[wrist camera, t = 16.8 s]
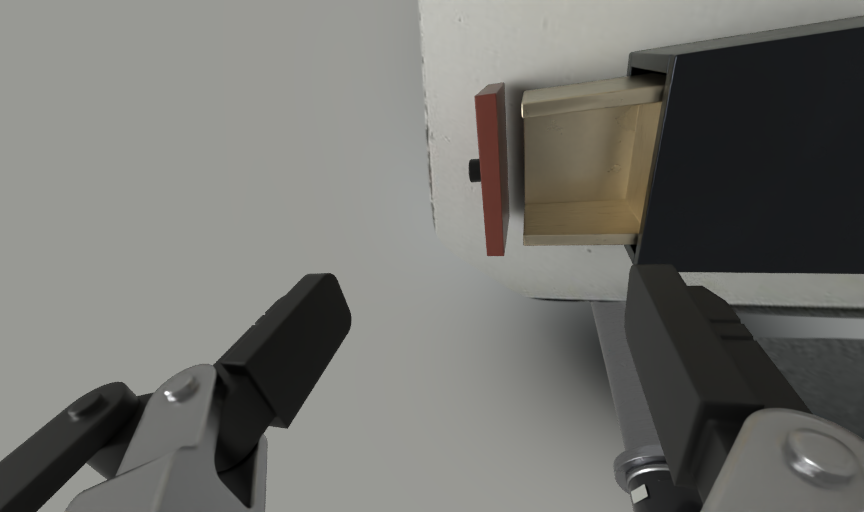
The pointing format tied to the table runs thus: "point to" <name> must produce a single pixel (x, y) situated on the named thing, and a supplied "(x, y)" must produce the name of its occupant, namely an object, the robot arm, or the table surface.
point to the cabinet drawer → (571, 160)
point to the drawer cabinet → (758, 153)
